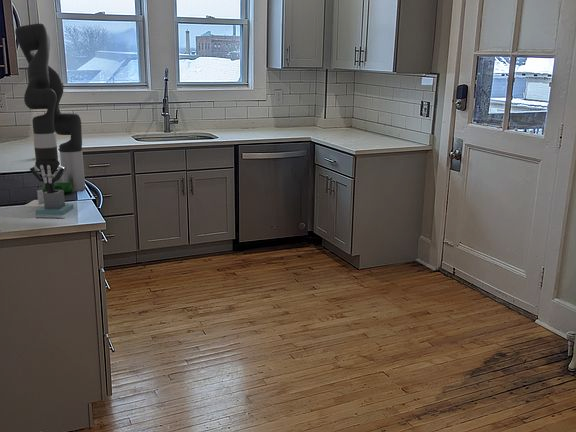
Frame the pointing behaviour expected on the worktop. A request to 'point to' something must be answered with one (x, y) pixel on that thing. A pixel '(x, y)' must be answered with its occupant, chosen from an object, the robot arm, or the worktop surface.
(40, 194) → the rod stand
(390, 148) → the worktop surface
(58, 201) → the metal collar
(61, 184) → the clamp
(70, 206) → the block
